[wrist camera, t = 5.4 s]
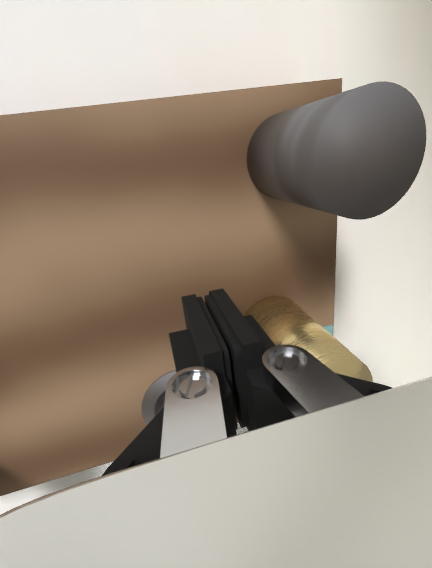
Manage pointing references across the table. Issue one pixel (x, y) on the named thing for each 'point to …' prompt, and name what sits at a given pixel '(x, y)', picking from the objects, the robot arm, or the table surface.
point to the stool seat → (169, 242)
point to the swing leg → (300, 338)
